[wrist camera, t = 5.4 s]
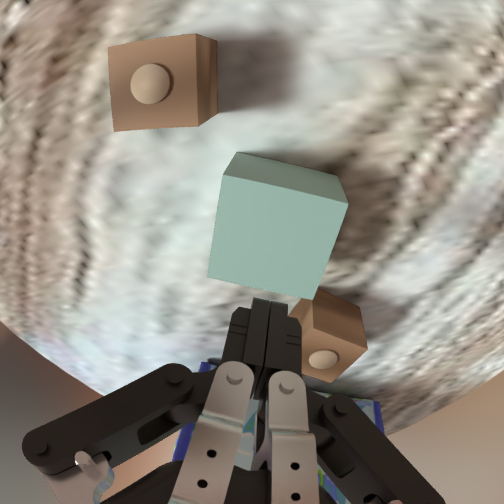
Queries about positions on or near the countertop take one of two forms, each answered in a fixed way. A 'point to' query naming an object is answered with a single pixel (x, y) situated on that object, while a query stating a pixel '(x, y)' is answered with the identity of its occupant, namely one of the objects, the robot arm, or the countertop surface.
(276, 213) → the plain block
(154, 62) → the dotted cube
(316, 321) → the dotted cube
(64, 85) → the countertop surface
